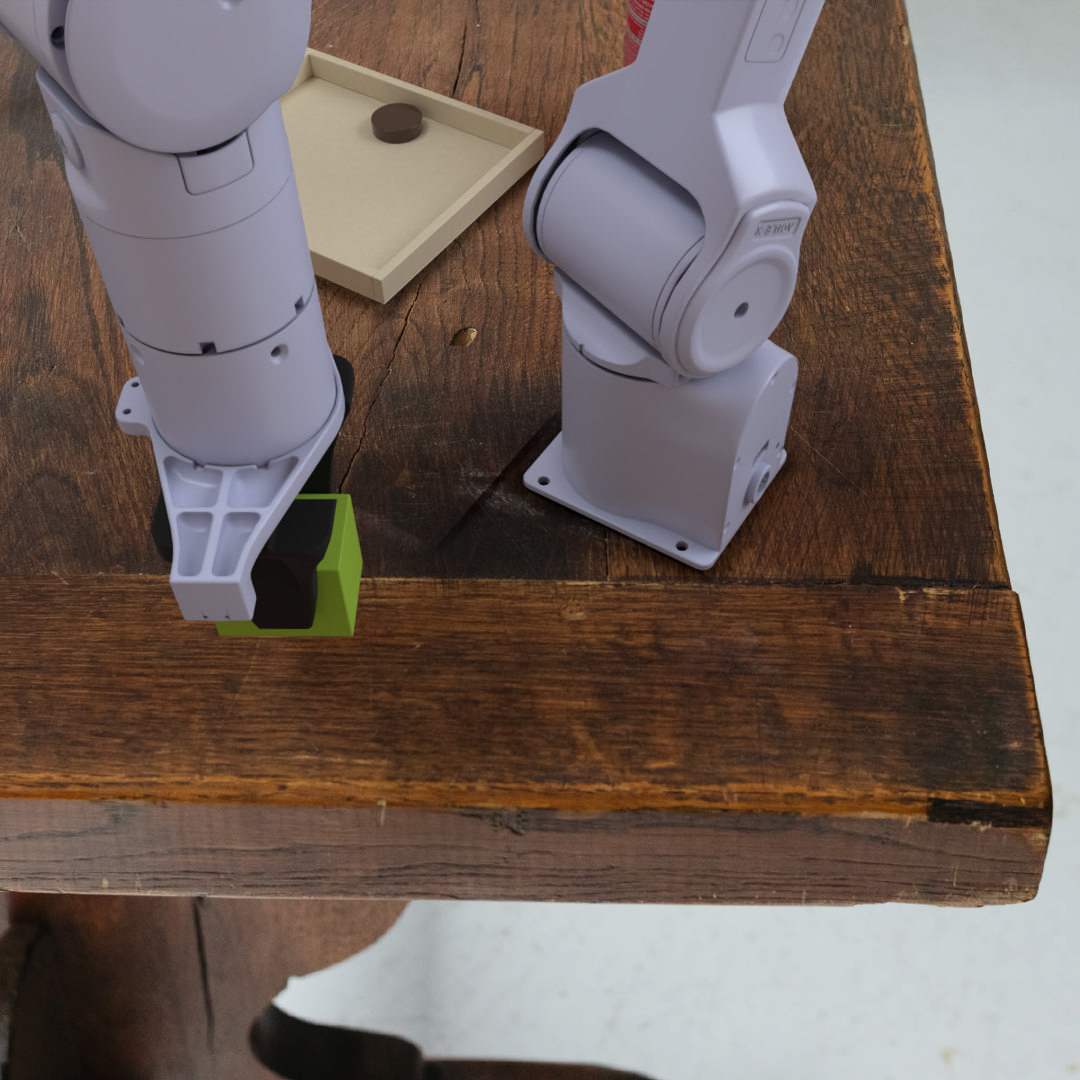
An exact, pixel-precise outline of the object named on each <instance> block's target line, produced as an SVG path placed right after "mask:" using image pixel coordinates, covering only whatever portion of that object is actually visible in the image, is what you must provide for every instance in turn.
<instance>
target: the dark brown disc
mask: <svg viewBox="0 0 1080 1080" xmlns="http://www.w3.org/2000/svg"><path fill="white" fill-rule="evenodd" d="M371 126H372V132H373V134H374V136H375V137H376V138H377V139H379V140H381V141H383V142H386V143H393V144H398V143H405V142H409V141H412V140H414V139H415V138H417V137H418V136H419V135H420V134H421V133H422V131H423V117H422V113H421V111H420V110H419V109H418V108H417V107H415V106H413V105H410V104H406V103H392V104H387V105H384V106H382V107H380V108H378V109H377V110H375V111H374V112H373V114H372V116H371Z"/></svg>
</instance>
